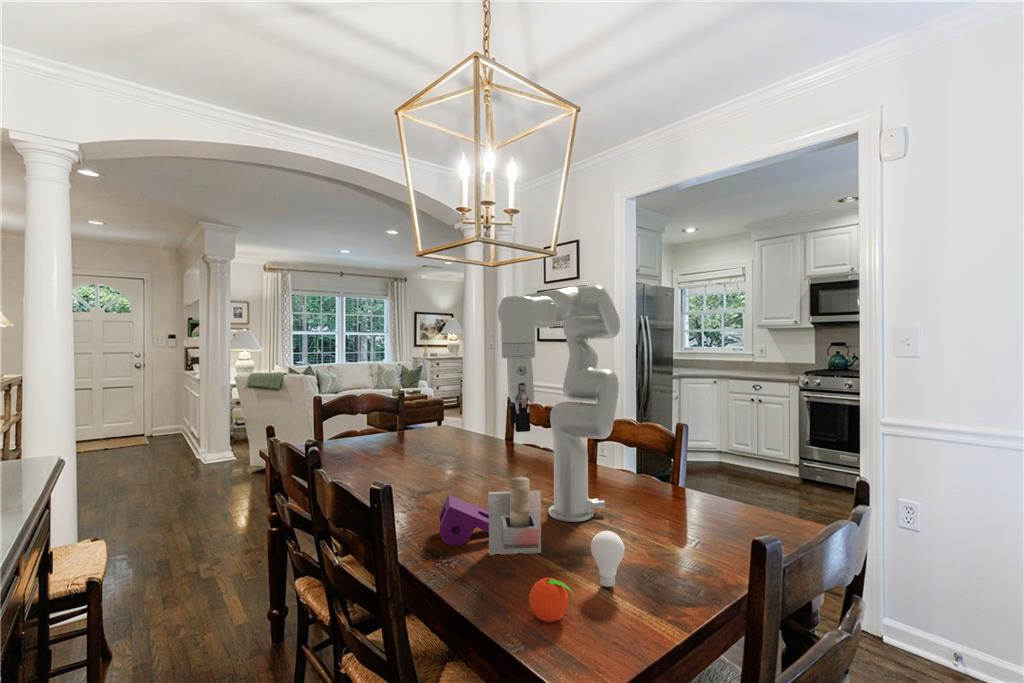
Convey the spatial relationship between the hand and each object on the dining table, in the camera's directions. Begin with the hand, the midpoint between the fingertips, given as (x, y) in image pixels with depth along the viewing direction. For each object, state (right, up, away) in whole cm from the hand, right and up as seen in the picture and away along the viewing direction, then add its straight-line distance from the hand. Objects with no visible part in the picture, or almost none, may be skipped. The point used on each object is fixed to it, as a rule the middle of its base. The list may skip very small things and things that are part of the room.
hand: (519, 426), depth 110 cm
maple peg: (0, -22, -8) cm, 23 cm away
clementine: (+5, -30, -24) cm, 39 cm away
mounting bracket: (-11, -30, +13) cm, 34 cm away
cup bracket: (-1, -30, -4) cm, 30 cm away
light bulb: (+17, -30, -13) cm, 37 cm away
